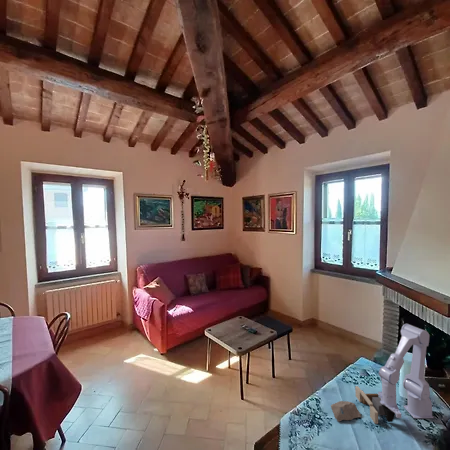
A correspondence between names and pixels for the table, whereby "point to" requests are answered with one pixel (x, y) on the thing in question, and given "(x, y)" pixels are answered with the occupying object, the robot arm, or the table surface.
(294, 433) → the table surface
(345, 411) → the concrete fragment
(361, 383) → the table surface
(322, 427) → the table surface
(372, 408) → the wall frame
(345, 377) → the table surface
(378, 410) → the grey rectangular block
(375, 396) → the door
